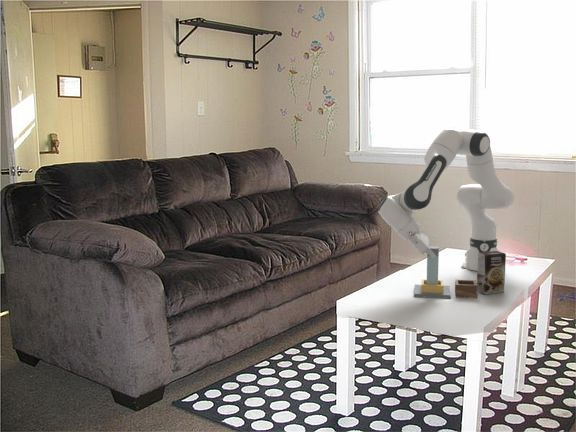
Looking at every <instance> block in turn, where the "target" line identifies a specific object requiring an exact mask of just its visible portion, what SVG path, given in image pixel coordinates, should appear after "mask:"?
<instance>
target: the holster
mask: <svg viewBox="0 0 576 432" xmlns="http://www.w3.org/2000/svg"><path fill="white" fill-rule="evenodd" d="M454 295H455V298H471V299H477V298H478V291H477V279H475V280H474V279H455V280H454Z"/></svg>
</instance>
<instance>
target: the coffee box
mask: <svg viewBox="0 0 576 432" xmlns="http://www.w3.org/2000/svg"><path fill="white" fill-rule="evenodd" d="M506 256H507V253H505V252H502V251H500V252H498V251H490V252H478V270H477V271H476V272H477V274H476V283H477V292H479V293H481V294H483V295H490V294H491V295H492V294H501V293H502V294H504V293H505V284H506V283H505V280H506V258H507V257H506Z"/></svg>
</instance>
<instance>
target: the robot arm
mask: <svg viewBox="0 0 576 432" xmlns="http://www.w3.org/2000/svg"><path fill="white" fill-rule="evenodd" d="M457 155H461V156H465V158H466V163H467V164H466V166H467V171H468V176H469V178H470V179H471V180H472V181H474V182H475V183H469V184H464V185H461V186H460V187H459V188H458V190H457V191H456V200H457V202H458V204H459V205H460V206H462V208H463V209H464V210H465V211H466V213H467V214H468V217H469V219H470V238H469V248H467V250H466V251H465V252H464V257H465V258H464V261H463V263H462V264H461V268H462V269H467V270H471V271H476V272H477V270H478V252H490V251H498V252H501V251H500V250H499V249H498V247H497V246H498V239H497V221H496V220H495V219H494V218H493V217H492V216H490V215H488V214H487V212H486V210H494V211H495V210H496V211H497V210H499V211H500V210H506V209H510V207H512V205H513V204H514V201H515V195H514V191H513V190H512V188H511V187H509V186H508V185H505V184H504V183H503V182H502V181H501V179H500V178H499V176H498V175H497V173H496V170H495V169H496V168H495V165H494V160H493V153H492V148H491V140H490V137H489V135H488V134H487V132H484V131H482V130H475V129H471V128H470V129H469V128H457V127H456V128H455V127H448V128H445V129H443V130H442V131H441V132H440V133H439V134H438V135H437V137H435V139H434V140H433V141H432V142H431V144H430V146H429V147H428V148H427V151H426V153H425V155H424V157H423V158H424V160H423V161H424V164H425V165H426V168H425V169H424V171H423V172H422V174H421V176H420V177H419V178H418V180H417V181H416V182H414V183H412V184H411V185H409V186H408V187H407V188H406V189H405V190H403V191H402V192H399V193H397V194H393V195H387V196H385V197H384V198H383V199H382V200H381V201H380V203H379V205H378V207H377V212H378V215H380V216H381V218H382V219H383V220H384V221H385V223H386V224H388V225H389V227H391V228H393V229H394V231H395V233H397V235H398V236H399V237H400V238H401V239H402V240H403V241H404V242H406V241H408V242H409V243H411V245H413V246H414V248H415V249H417V250H418V252H419V253H420V254H422V255H424V254H425V253H426V255H427V254H428V255H430V256H431V257H432V258H434V257H435V256H436V254H435V253H434V252H433V251H432V250H431V249H430V248H429V246H432V245H431V244H430V238H429V237H428V236H427V234H426V233H425V232H424V230H423V229H422V228H421V227H422V225H421V224H420V223H419V222H418V221H417V220H416V219H415V218H414V217H413V216H412V214H414V213H416V212H417V211H419V210H422V209H424V208H426V207H428V205H429V204H430V203H431V200H432V193H433V190H434V187H435V185H436V183H437V182H438V181H439V178H440V177H441V175H442V174H443V172H444V171H445V170H446V169H448V167H449V166H450V165H451V164H452V162H453V161H454V159H455V158H456V156H457Z"/></svg>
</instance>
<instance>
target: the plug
mask: <svg viewBox="0 0 576 432" xmlns="http://www.w3.org/2000/svg"><path fill="white" fill-rule="evenodd" d="M429 248H430V249H431V250H432V251H433V252H434V253H435V254H436V256H435V257H434V258H432V257H431V256H430V255H428V254H427V253H426V280H427V284H428V285H438V280H439V255H440V253H439V252H440V247H439V246H436V245H435V246H432V245H431V246H429Z"/></svg>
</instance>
